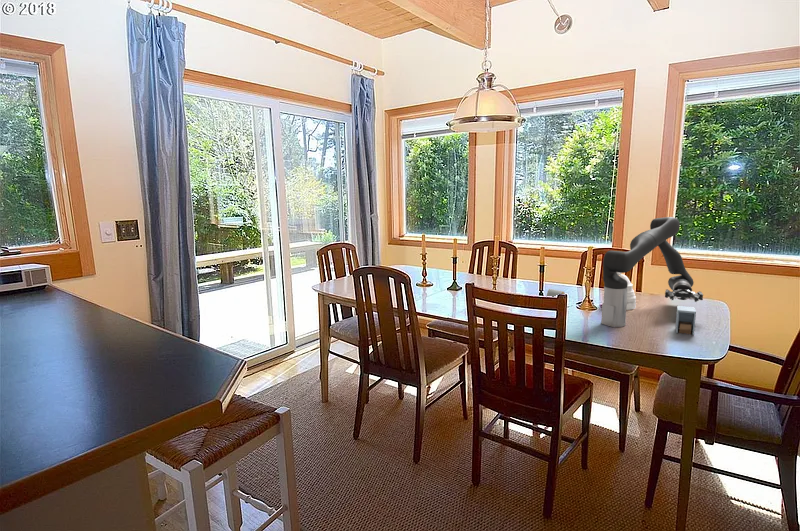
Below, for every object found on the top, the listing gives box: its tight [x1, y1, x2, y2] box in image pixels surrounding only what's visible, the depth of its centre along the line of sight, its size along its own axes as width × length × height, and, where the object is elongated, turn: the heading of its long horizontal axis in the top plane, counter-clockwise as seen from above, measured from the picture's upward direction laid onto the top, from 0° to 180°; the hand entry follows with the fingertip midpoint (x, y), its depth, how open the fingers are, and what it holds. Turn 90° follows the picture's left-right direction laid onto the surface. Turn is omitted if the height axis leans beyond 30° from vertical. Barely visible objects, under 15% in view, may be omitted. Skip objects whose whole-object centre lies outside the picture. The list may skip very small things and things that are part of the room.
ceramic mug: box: [546, 288, 566, 297], centre depth 230 cm, size 11×8×8 cm
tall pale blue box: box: [675, 305, 697, 336], centre depth 178 cm, size 7×6×10 cm
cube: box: [678, 321, 692, 335], centre depth 178 cm, size 4×4×4 cm
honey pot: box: [617, 272, 637, 311], centre depth 217 cm, size 13×13×18 cm
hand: (684, 298), depth 187 cm, fingers open, 8 cm apart
